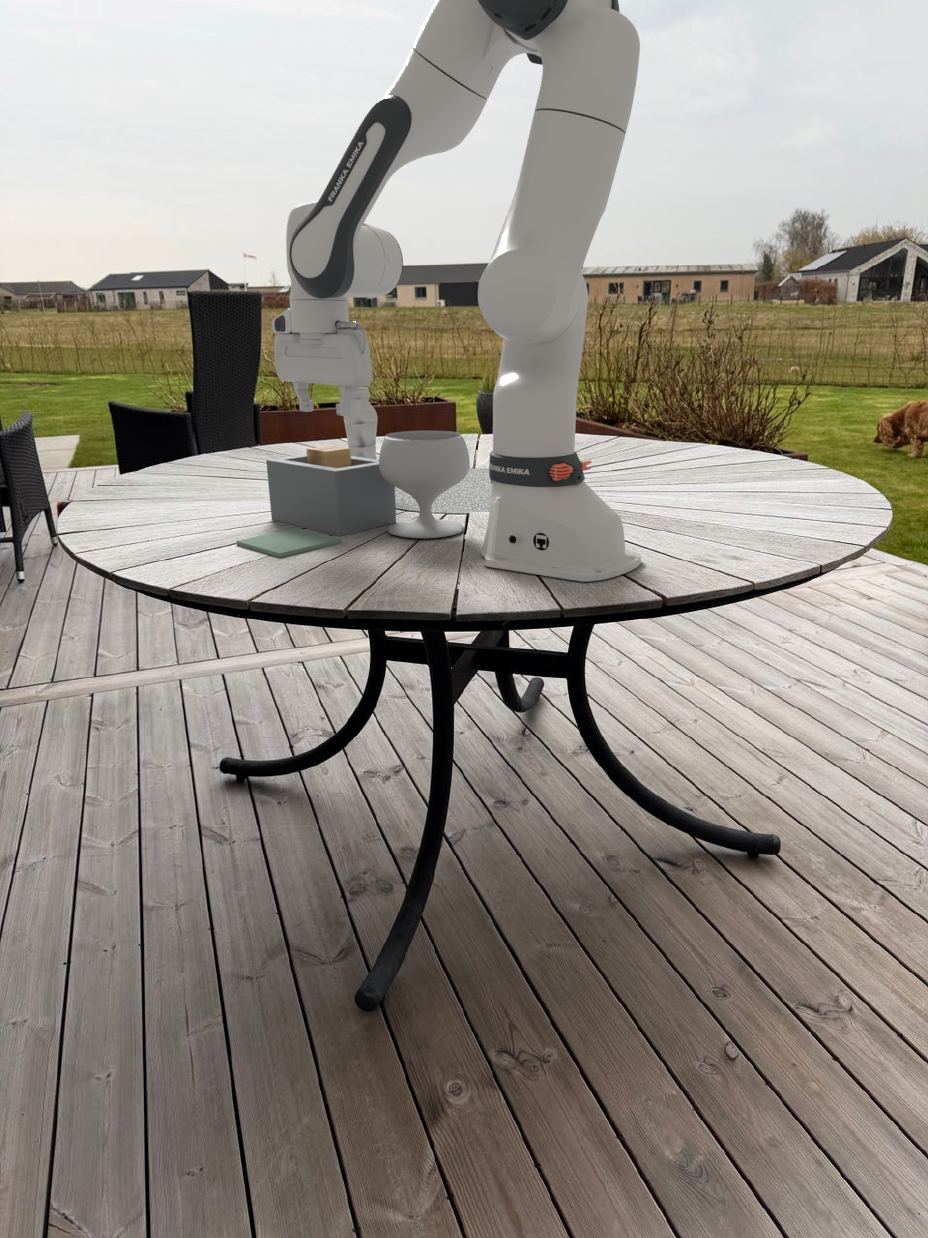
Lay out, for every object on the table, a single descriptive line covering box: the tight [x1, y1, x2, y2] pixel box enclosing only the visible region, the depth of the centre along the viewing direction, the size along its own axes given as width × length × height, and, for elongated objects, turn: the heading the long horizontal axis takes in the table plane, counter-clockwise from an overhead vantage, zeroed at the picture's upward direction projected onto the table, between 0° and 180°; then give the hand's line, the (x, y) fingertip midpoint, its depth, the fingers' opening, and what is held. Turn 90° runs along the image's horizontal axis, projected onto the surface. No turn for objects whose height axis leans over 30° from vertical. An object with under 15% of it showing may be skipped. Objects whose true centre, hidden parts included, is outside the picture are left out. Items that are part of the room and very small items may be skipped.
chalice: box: [378, 430, 471, 539], centre depth 122 cm, size 14×14×15 cm
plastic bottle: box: [343, 386, 378, 460], centre depth 150 cm, size 6×7×20 cm
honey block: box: [306, 445, 351, 468], centre depth 129 cm, size 5×5×6 cm
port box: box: [266, 453, 397, 537], centre depth 130 cm, size 18×12×10 cm, turn 48°
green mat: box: [235, 527, 342, 558], centre depth 118 cm, size 11×11×1 cm
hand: (324, 413), depth 126 cm, fingers open, 8 cm apart
